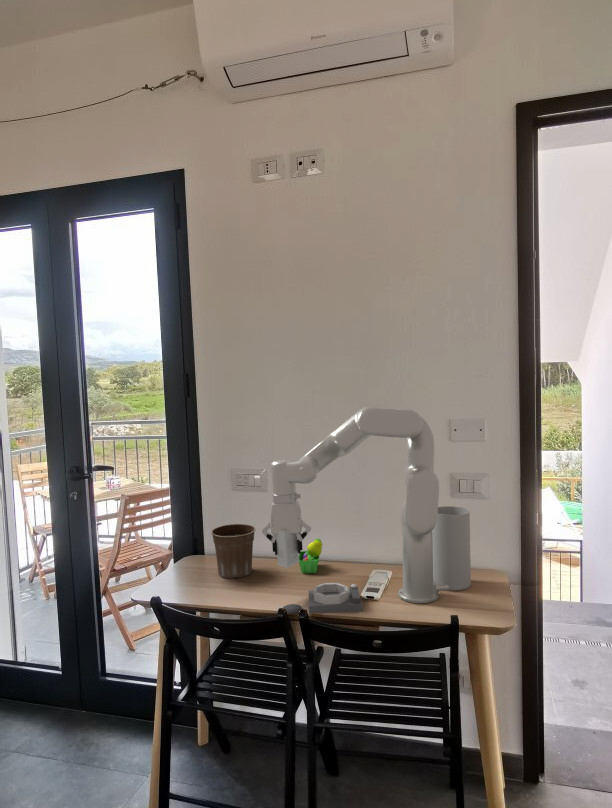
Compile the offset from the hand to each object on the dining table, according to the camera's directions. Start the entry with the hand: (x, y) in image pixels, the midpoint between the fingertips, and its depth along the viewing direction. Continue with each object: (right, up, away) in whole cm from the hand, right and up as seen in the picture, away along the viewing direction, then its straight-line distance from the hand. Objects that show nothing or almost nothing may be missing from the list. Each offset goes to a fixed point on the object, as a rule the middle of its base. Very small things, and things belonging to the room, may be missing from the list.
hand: (287, 552), depth 174 cm
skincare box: (0, -4, 0) cm, 4 cm away
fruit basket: (+8, -13, +26) cm, 30 cm away
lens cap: (+2, -15, -10) cm, 18 cm away
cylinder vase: (+55, -13, +7) cm, 56 cm away
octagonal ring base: (+15, -14, -6) cm, 21 cm away
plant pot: (-20, -14, +24) cm, 34 cm away
